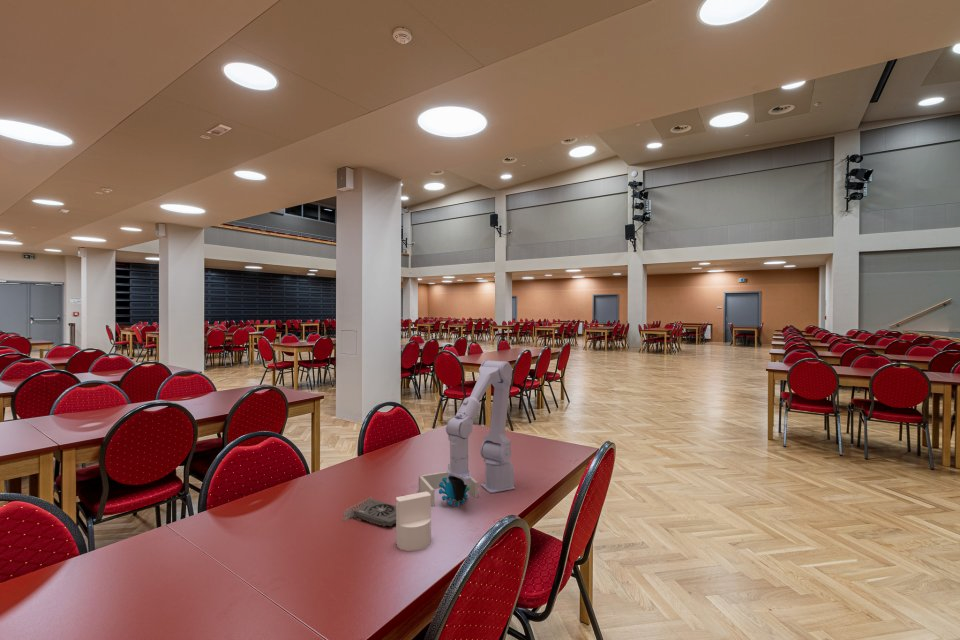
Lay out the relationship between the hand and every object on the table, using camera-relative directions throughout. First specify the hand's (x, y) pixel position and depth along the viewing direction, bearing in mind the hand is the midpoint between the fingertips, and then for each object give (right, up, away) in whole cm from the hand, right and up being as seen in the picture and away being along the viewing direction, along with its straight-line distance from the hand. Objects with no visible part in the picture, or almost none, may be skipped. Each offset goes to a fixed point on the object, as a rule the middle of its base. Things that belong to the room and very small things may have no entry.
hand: (459, 499), depth 136 cm
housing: (-4, -2, +9) cm, 10 cm away
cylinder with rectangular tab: (-11, -2, -22) cm, 25 cm away
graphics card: (-24, -3, -9) cm, 26 cm away
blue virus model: (-2, -2, +3) cm, 4 cm away
